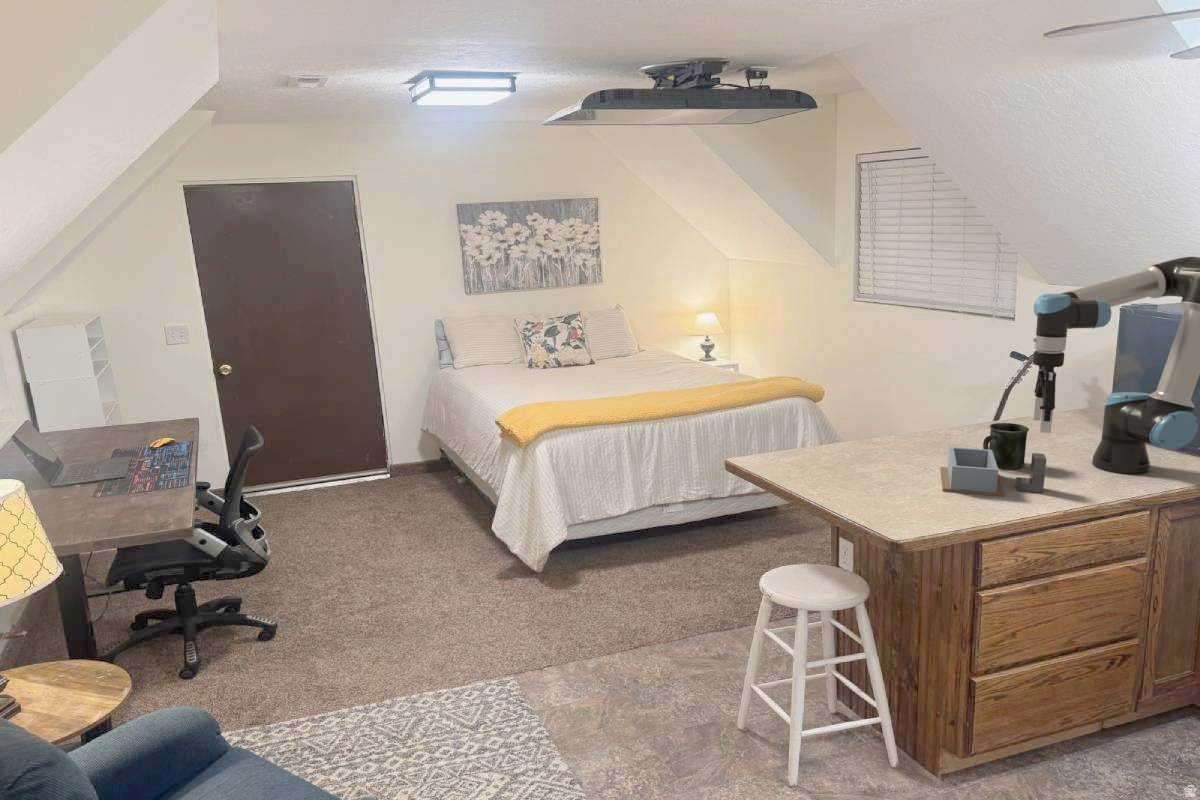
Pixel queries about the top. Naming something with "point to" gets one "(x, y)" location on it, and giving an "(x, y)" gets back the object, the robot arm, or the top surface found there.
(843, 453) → the top surface
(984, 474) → the box
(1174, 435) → the robot arm
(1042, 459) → the brushed grey block
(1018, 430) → the mug
